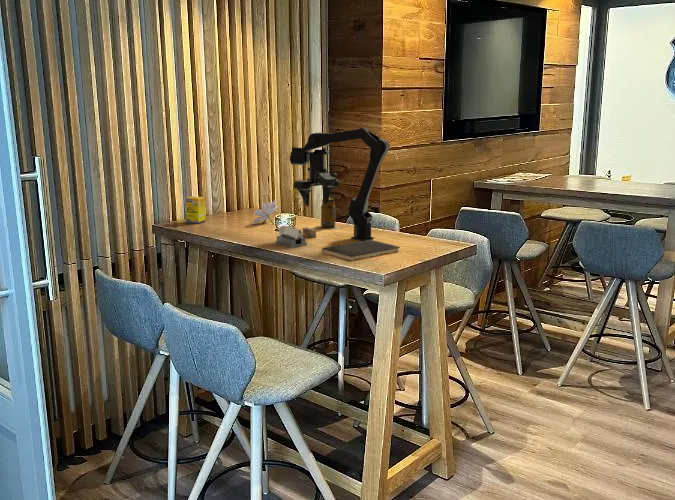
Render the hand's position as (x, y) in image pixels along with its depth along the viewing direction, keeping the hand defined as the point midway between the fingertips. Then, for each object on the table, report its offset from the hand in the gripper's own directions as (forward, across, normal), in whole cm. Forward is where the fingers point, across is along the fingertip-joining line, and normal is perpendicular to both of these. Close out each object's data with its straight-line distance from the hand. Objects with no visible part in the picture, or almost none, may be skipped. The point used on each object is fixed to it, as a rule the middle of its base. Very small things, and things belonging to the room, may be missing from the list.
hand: (316, 205), depth 267 cm
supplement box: (+12, -24, +53) cm, 59 cm away
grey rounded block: (+12, -8, 0) cm, 14 cm away
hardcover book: (+13, -6, -32) cm, 35 cm away
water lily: (+12, -1, +34) cm, 36 cm away
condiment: (+12, +15, +10) cm, 22 cm away
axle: (+10, -18, -7) cm, 21 cm away
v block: (+12, -18, -7) cm, 23 cm away
